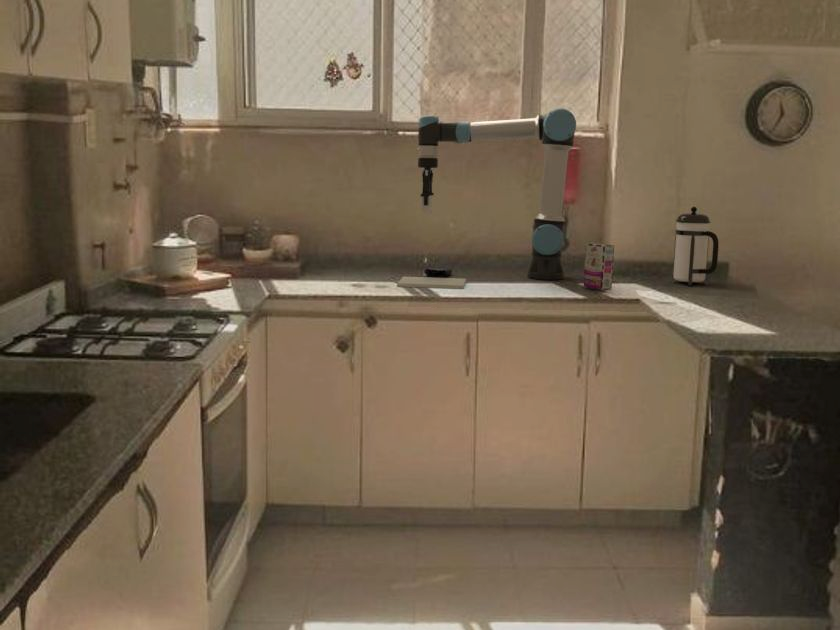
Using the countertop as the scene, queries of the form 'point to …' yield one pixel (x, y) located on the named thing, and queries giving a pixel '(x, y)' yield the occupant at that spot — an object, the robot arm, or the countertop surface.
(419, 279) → the beige flat panel
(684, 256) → the coffee press
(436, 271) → the flask
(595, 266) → the candy bar box
